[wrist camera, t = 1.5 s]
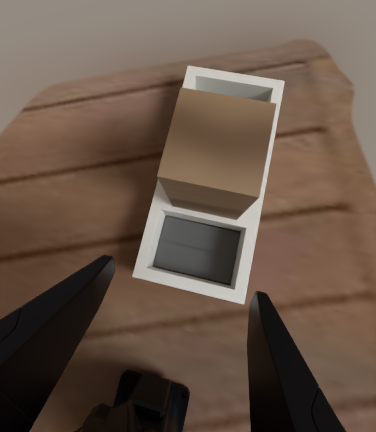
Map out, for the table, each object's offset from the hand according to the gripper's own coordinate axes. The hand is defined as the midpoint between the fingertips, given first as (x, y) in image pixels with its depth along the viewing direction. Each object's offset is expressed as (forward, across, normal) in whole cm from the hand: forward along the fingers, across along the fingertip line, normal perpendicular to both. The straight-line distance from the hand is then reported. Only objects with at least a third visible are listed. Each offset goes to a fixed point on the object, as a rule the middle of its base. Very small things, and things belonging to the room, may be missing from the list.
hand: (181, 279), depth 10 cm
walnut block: (+13, 0, +2) cm, 13 cm away
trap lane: (+16, 0, +3) cm, 16 cm away
